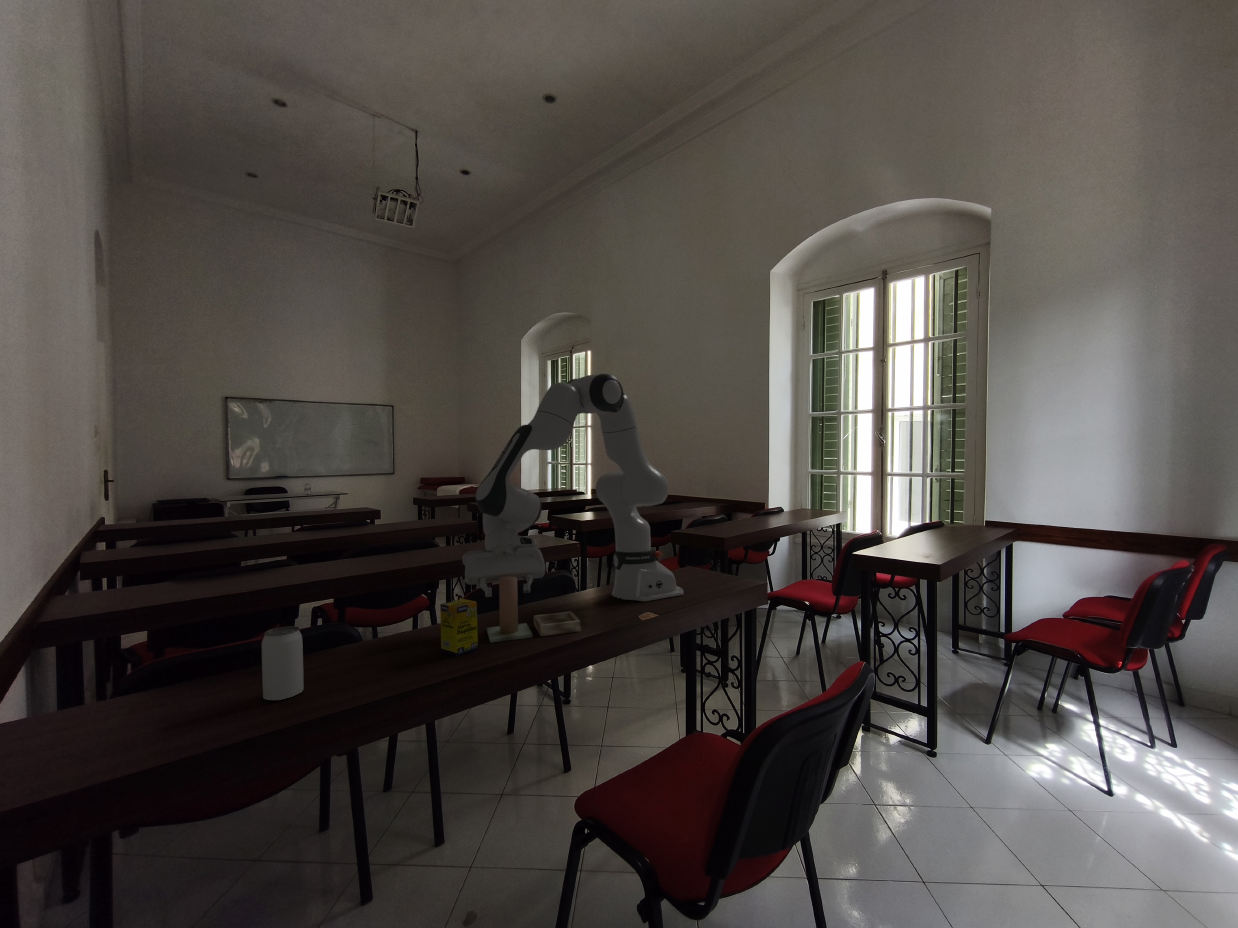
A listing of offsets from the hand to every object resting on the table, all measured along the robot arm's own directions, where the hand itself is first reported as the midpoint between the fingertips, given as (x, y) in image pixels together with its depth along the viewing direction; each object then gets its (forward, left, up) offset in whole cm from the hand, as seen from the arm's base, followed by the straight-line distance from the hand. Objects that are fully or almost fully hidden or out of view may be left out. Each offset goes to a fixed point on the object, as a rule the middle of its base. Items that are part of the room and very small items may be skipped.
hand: (508, 593), depth 136 cm
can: (+44, +21, -10) cm, 50 cm away
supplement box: (+12, +8, -10) cm, 18 cm away
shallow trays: (-6, 0, -10) cm, 12 cm away
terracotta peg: (0, 0, -9) cm, 9 cm away
